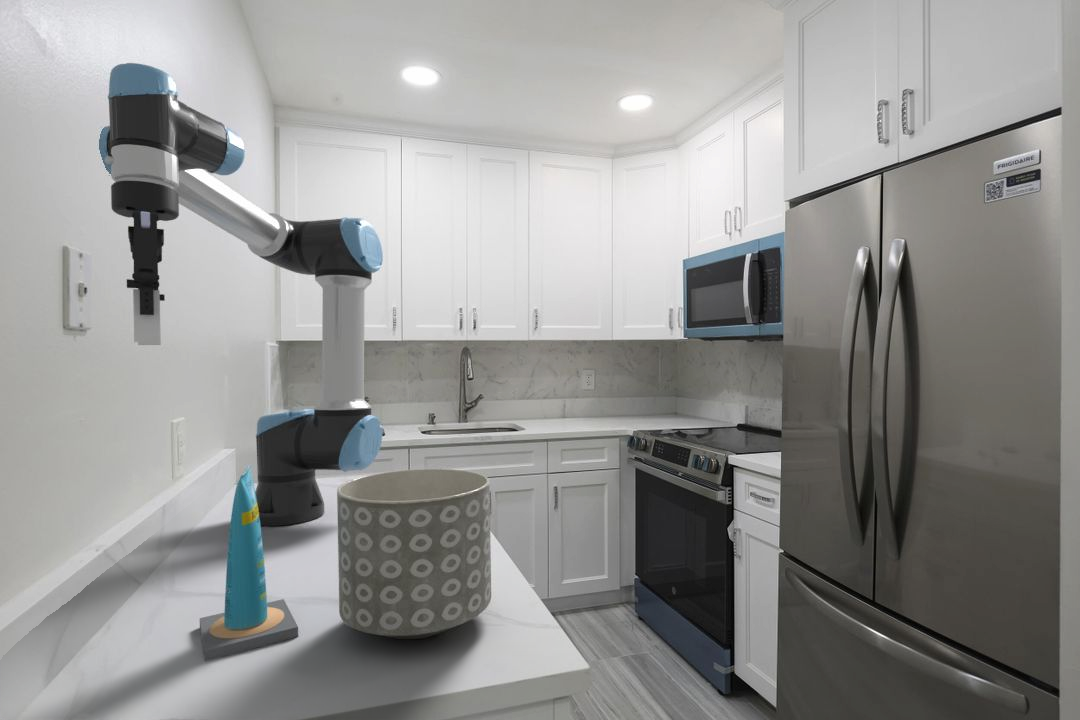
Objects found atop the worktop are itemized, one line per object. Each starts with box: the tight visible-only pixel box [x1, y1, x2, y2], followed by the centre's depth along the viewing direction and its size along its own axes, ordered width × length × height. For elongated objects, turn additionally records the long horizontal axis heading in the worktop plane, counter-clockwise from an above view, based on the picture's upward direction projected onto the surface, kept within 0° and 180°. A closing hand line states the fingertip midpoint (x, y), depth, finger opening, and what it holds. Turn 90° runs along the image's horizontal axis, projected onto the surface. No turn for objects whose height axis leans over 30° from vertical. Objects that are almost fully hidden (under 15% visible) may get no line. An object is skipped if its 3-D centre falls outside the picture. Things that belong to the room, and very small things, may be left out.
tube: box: [224, 464, 268, 630], centre depth 72 cm, size 7×5×19 cm, turn 26°
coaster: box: [199, 598, 299, 662], centre depth 72 cm, size 10×10×1 cm
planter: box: [336, 468, 492, 640], centre depth 74 cm, size 19×19×18 cm
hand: (148, 343), depth 77 cm, fingers open, 13 cm apart
